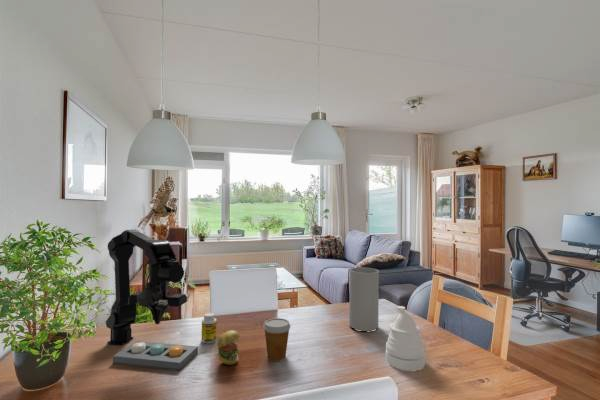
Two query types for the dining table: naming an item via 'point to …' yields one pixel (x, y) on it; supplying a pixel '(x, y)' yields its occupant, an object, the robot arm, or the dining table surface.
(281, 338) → the disposable coffee cup
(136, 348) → the ivory button
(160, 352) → the teal button
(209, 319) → the supplement bottle
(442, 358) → the dining table surface
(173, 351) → the orange button
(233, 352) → the hamburger
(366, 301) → the cylinder vase
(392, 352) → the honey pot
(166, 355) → the panel
